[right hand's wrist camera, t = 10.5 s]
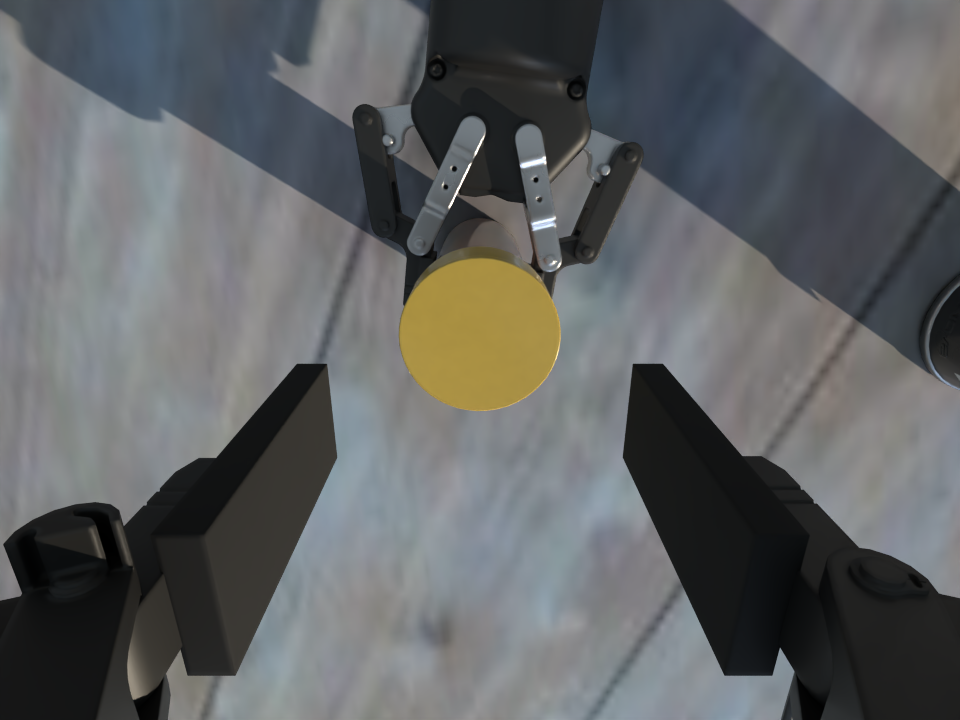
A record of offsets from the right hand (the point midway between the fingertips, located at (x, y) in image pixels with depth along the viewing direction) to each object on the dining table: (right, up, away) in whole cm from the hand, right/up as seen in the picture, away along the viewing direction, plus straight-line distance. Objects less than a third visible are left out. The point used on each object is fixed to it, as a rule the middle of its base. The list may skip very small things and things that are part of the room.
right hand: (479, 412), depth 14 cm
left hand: (0, +3, +15) cm, 16 cm away
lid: (0, +2, +6) cm, 6 cm away
